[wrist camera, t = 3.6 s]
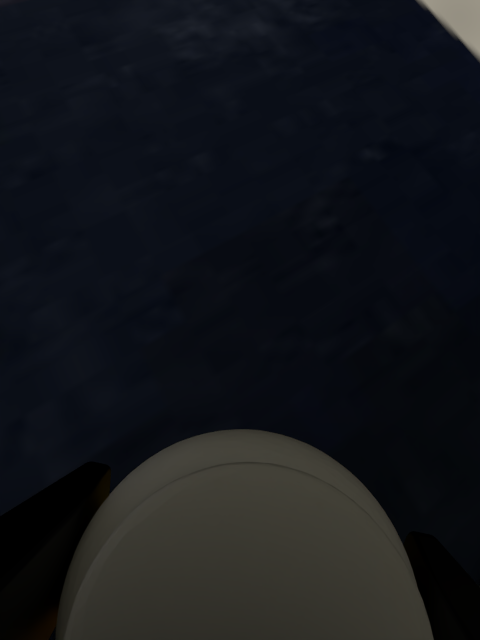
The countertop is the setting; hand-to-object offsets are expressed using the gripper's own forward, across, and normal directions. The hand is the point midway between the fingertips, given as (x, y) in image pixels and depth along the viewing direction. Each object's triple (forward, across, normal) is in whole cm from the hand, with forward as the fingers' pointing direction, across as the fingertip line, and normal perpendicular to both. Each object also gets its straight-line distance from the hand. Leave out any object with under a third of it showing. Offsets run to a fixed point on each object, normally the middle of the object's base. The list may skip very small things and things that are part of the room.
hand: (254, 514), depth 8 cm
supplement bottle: (+4, 0, +6) cm, 7 cm away
